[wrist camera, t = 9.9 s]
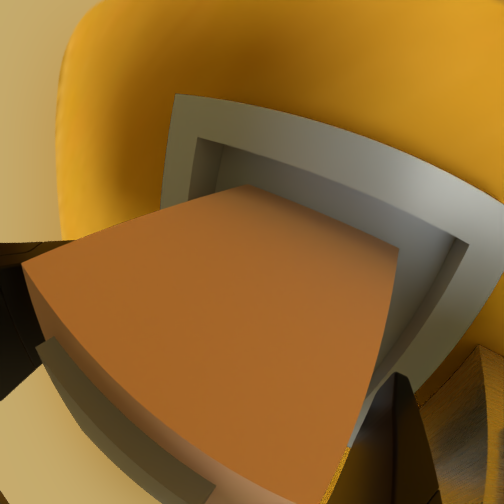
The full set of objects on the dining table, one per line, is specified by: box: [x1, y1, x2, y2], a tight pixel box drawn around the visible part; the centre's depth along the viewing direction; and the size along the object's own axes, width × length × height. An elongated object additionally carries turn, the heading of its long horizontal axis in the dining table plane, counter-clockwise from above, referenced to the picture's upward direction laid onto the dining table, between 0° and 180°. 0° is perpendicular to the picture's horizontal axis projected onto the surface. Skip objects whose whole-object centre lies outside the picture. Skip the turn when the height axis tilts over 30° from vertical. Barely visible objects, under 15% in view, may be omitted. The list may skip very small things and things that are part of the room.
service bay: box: [160, 94, 504, 448], centre depth 9 cm, size 10×10×2 cm
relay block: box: [21, 184, 399, 504], centre depth 6 cm, size 5×5×7 cm
